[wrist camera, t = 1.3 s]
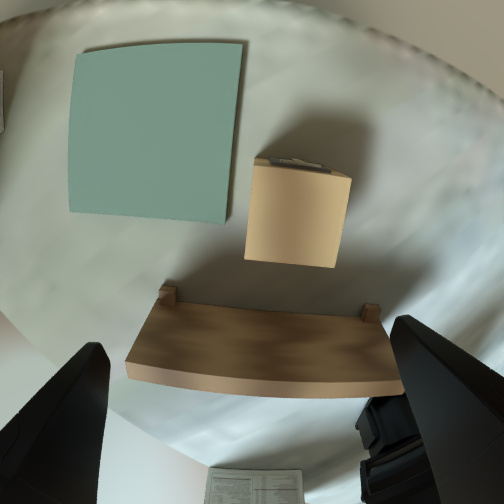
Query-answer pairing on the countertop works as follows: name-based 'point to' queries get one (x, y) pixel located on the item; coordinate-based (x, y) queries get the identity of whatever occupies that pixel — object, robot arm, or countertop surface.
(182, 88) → the mat
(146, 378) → the screen
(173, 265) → the countertop surface
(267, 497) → the supplement box
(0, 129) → the coffee box
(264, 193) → the letter block
